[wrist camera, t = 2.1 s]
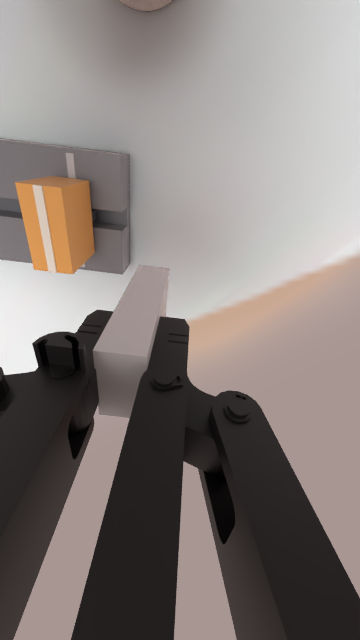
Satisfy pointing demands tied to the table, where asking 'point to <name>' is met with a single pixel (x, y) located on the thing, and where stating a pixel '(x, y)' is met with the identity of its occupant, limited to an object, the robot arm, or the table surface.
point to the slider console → (96, 166)
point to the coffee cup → (145, 4)
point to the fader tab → (57, 222)
